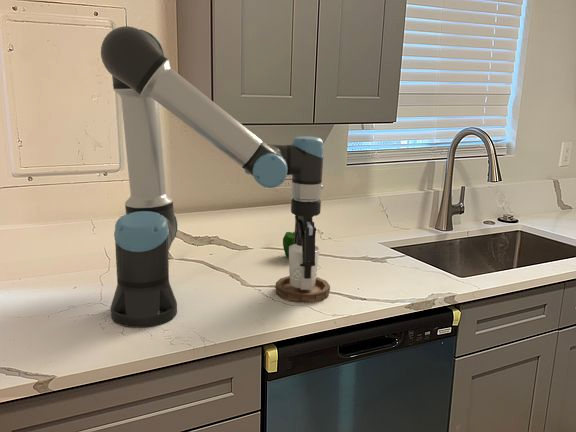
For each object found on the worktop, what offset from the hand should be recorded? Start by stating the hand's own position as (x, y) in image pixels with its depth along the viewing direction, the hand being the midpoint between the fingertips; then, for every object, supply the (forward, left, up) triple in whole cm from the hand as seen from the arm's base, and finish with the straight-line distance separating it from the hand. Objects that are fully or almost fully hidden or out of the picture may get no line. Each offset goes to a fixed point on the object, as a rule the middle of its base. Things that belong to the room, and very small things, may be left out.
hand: (302, 283), depth 149 cm
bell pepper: (+4, +28, -3) cm, 28 cm away
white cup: (0, 0, 0) cm, 0 cm away
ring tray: (0, 0, -3) cm, 3 cm away
